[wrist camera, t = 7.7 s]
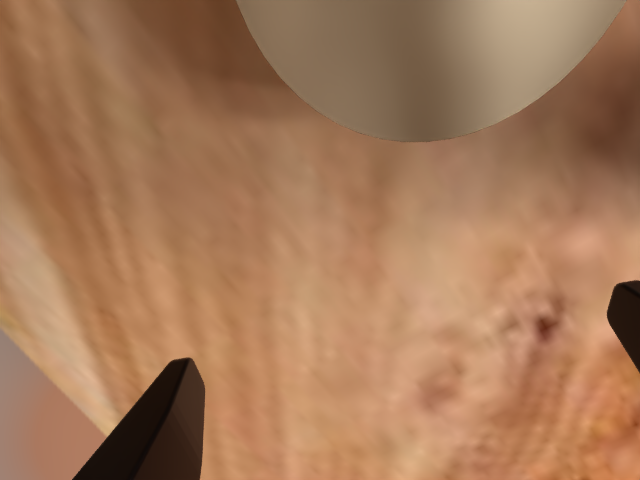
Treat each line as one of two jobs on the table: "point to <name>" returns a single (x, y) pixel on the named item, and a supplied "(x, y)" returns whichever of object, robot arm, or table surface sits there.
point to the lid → (424, 58)
